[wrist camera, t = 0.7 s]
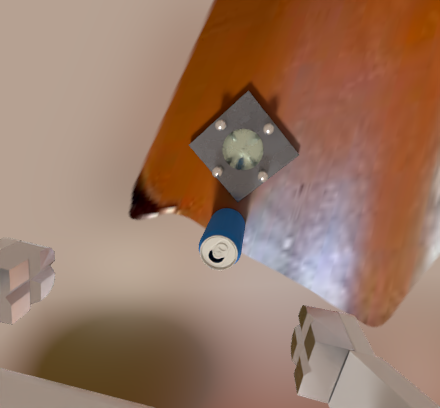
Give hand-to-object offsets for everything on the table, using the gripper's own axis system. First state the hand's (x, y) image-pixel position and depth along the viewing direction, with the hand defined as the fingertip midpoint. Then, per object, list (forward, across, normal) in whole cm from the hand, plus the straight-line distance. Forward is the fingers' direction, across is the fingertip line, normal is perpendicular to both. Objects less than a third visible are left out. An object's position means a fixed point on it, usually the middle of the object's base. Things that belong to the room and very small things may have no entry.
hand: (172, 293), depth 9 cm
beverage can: (+42, 0, +13) cm, 44 cm away
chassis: (+41, 0, -1) cm, 41 cm away
